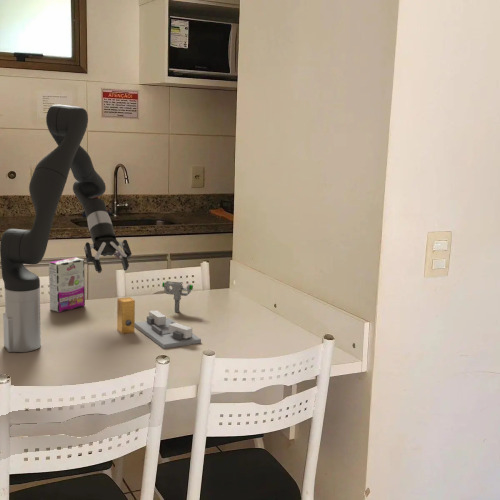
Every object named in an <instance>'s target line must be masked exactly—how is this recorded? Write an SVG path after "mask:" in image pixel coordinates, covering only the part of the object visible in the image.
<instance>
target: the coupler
mask: <svg viewBox="0 0 500 500" xmlns="http://www.w3.org/2000/svg"><path fill="white" fill-rule="evenodd" d="M116 300H117V302H116V303H117V304H116V306H117V311H116V318H117V320H116V328H117V329H116V330H117V331H118V332H119V333H120V334H123V335H124V334H129V333H130V334H131V333H135V327H134V324H135V323H136V322H135V313H136V311H135V310H136V306H135V305H136V303H135V302H136V300H135V299H133V298H132V297H130V296H127V297H118V298H116Z"/></svg>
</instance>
